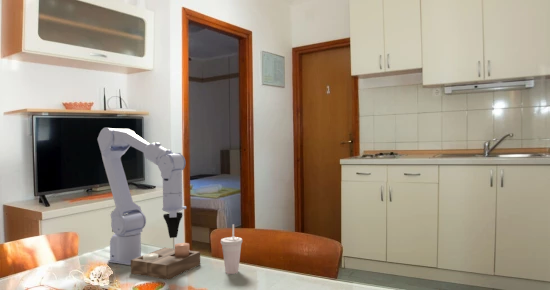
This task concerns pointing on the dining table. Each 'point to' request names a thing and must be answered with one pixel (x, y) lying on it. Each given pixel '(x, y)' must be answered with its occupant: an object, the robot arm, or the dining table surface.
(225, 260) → the smoothie
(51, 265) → the dining table surface
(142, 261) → the wooden egg crate
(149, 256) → the knob cream
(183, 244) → the peach egg
